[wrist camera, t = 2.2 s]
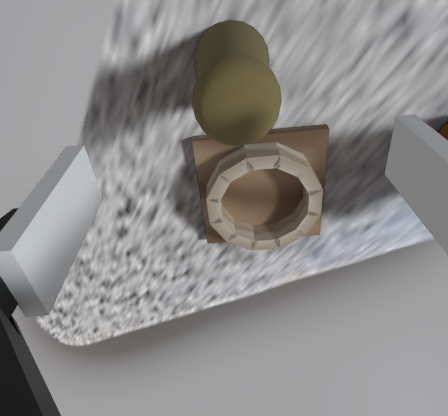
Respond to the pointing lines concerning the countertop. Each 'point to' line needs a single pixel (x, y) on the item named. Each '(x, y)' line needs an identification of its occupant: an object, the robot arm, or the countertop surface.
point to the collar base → (263, 187)
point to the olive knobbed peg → (234, 84)
